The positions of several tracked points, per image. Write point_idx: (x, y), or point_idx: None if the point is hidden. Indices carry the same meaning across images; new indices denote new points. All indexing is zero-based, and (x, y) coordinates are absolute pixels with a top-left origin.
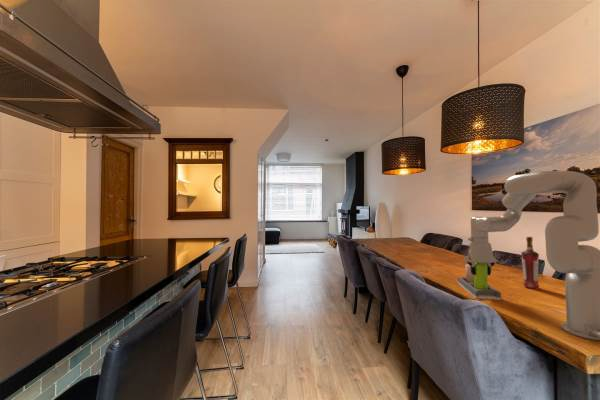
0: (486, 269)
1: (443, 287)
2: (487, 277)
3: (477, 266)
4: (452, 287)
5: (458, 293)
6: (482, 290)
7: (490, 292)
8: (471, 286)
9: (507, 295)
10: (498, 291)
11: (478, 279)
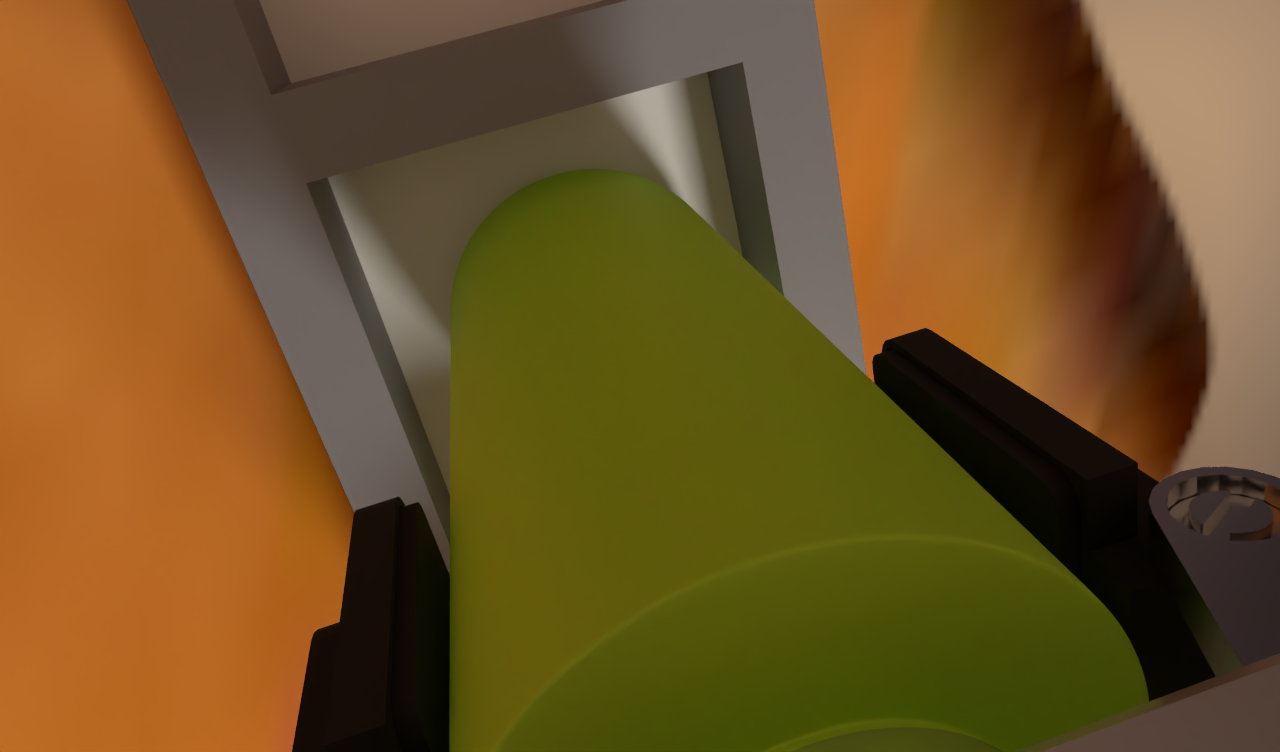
0: (517, 552)
1: (1168, 382)
2: (456, 434)
3: (1021, 532)
4: None
5: (1000, 97)
6: (597, 10)
7: (399, 57)
8: (803, 285)
9: (48, 429)
10: (188, 93)
11: (736, 264)
